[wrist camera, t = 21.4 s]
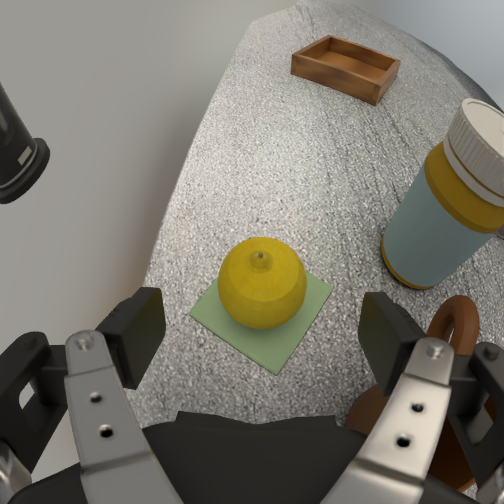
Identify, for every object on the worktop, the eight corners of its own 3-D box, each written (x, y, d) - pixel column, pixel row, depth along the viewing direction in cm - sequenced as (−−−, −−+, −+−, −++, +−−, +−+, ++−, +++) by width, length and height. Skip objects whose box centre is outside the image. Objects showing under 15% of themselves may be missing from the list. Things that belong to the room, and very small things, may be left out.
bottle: (429, 221, 26) (504, 105, 12) (452, 286, 22) (560, 185, 9) (369, 225, 26) (433, 85, 12) (389, 297, 22) (501, 176, 9)
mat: (189, 315, 22) (188, 313, 22) (249, 239, 25) (249, 236, 25) (276, 375, 20) (276, 375, 19) (332, 289, 23) (333, 287, 22)
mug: (367, 316, 22) (423, 265, 13) (444, 335, 20) (517, 295, 12) (327, 466, 16) (371, 506, 8) (414, 473, 15) (487, 496, 7)
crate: (290, 73, 38) (291, 54, 35) (326, 50, 43) (328, 34, 40) (375, 106, 35) (380, 86, 31) (396, 76, 40) (401, 60, 36)
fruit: (292, 346, 20) (309, 317, 13) (217, 331, 21) (194, 295, 14) (303, 276, 23) (321, 218, 16) (234, 264, 24) (223, 202, 17)
